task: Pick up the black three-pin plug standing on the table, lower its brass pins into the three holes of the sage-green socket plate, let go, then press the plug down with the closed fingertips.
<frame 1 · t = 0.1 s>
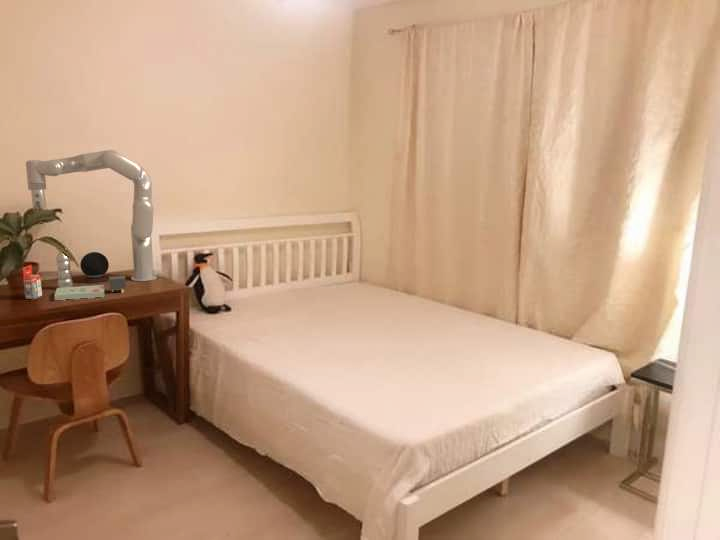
hand: (40, 222, 269), 31 cm above the table, tool pointing down, fingers open, 9 cm apart
plug: (118, 291, 266), on the table
ink box: (34, 298, 253), on the table
socket plate: (80, 295, 259), on the table
plastic bottle: (65, 288, 270), on the table
round black speaker: (95, 281, 287), on the table
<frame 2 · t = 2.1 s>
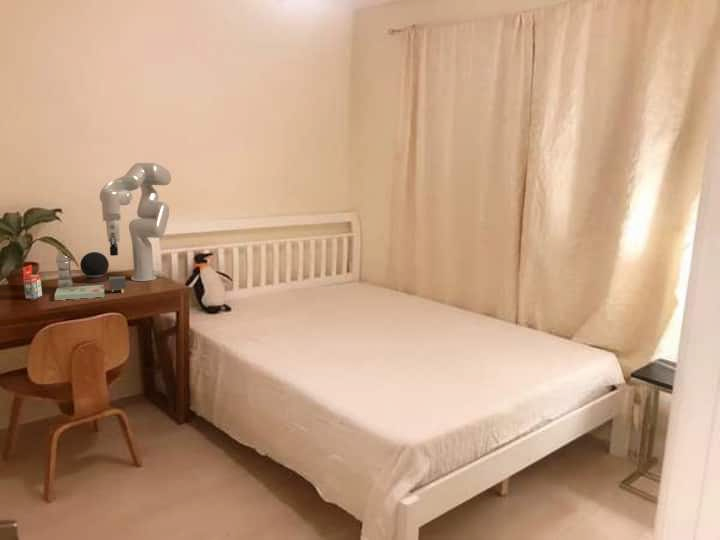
hand: (114, 253, 262), 19 cm above the table, tool pointing down, fingers open, 9 cm apart
nothing on the table moved.
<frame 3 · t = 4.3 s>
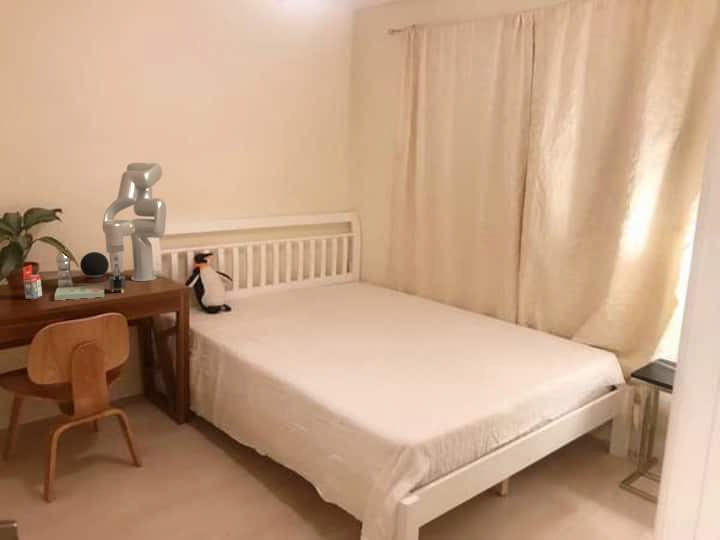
hand: (117, 285, 266), 3 cm above the table, tool pointing down, fingers closed on plug, 5 cm apart
plug: (118, 291, 266), on the table, touching gripper
everything else where it was.
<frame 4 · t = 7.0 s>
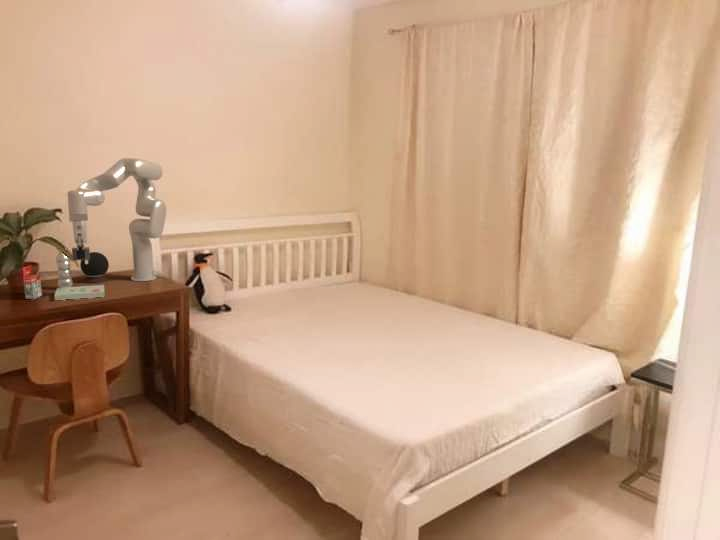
hand: (81, 257, 256), 18 cm above the table, tool pointing down, fingers closed on plug, 5 cm apart
plug: (81, 263, 256), point 15 cm above the table, touching gripper
everything else where it was.
when the fingers open (4 cm above the table, at t = 9.6 s): plug stays where it is, resting on socket plate.
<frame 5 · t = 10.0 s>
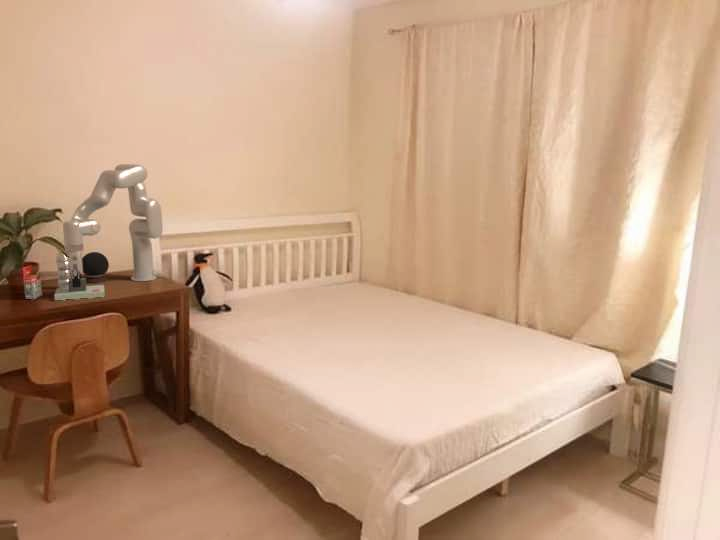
hand: (77, 284, 257), 5 cm above the table, tool pointing down, fingers open, 9 cm apart
plug: (78, 294, 258), resting on socket plate
everything else where it was.
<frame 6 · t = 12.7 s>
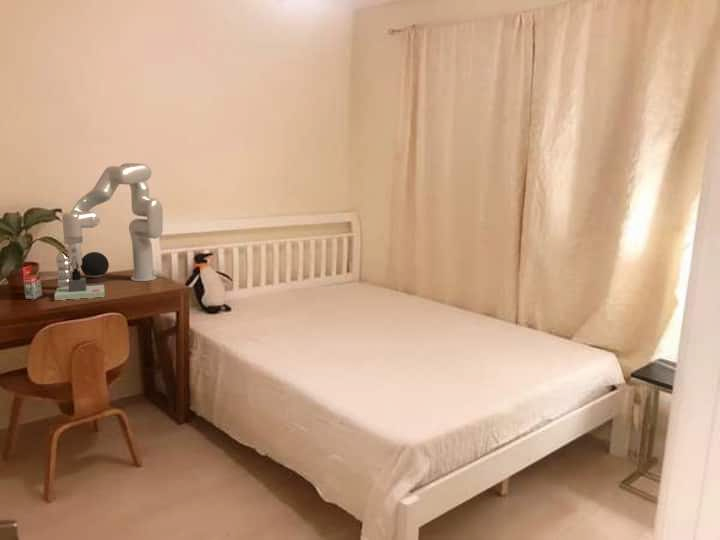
hand: (76, 279, 257), 8 cm above the table, tool pointing down, fingers closed
plug: (78, 294, 258), resting on socket plate, touching gripper
everything else where it was.
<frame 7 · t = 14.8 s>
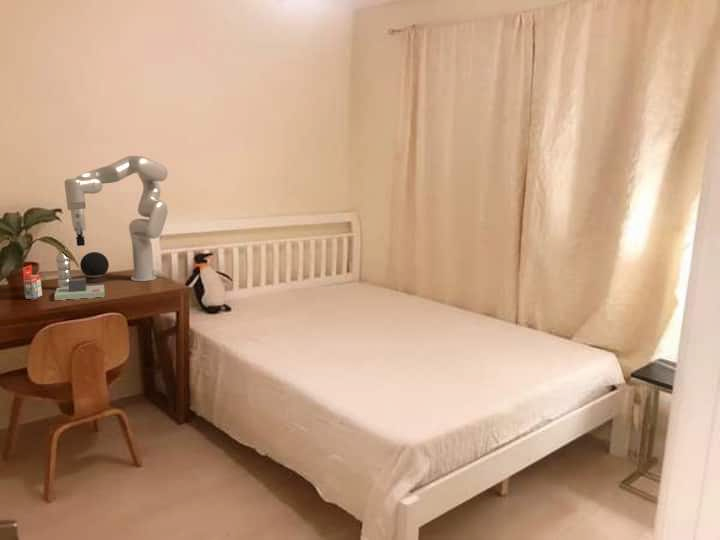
hand: (81, 245, 260), 23 cm above the table, tool pointing down, fingers closed
plug: (78, 294, 258), resting on socket plate
everything else where it was.
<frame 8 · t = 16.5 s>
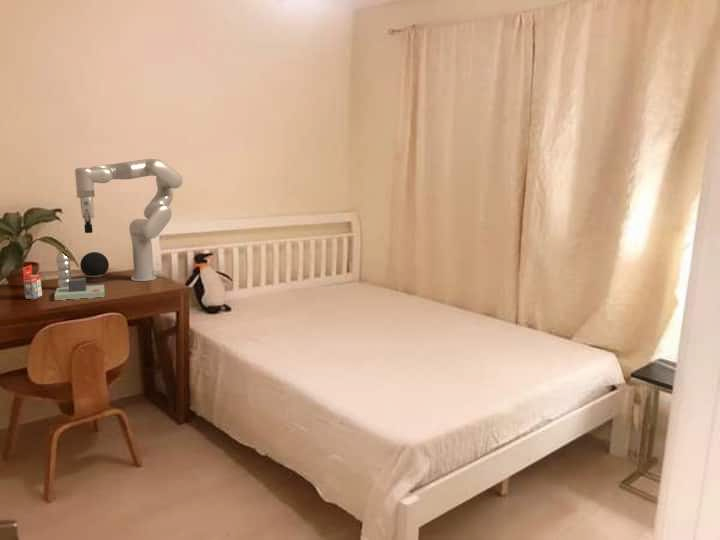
hand: (88, 232, 268), 27 cm above the table, tool pointing down, fingers closed
nothing on the table moved.
at the end: plug 0.0 cm from the target spot on the socket plate, point 0.5 cm above the socket plate's base; plug tilted 0°; the gripper is holding nothing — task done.
